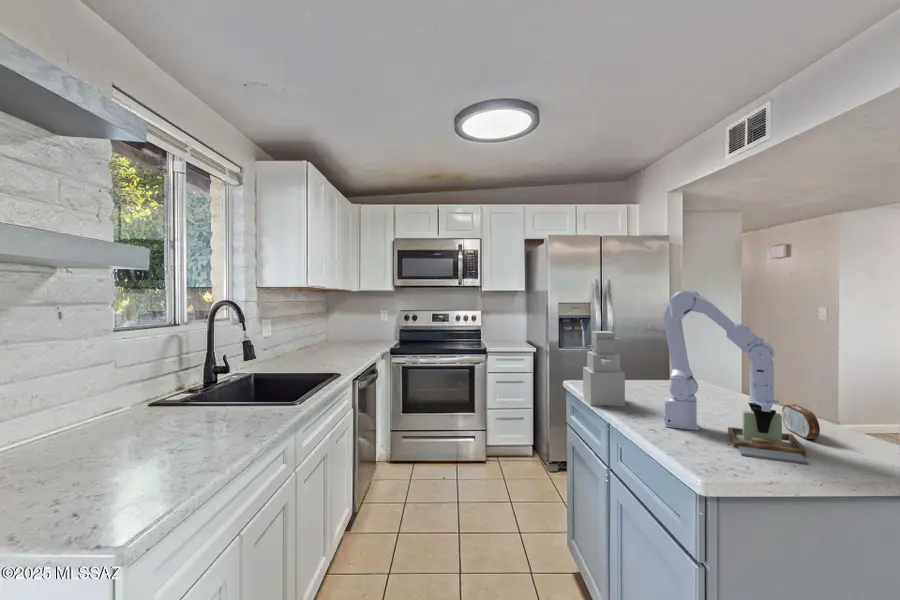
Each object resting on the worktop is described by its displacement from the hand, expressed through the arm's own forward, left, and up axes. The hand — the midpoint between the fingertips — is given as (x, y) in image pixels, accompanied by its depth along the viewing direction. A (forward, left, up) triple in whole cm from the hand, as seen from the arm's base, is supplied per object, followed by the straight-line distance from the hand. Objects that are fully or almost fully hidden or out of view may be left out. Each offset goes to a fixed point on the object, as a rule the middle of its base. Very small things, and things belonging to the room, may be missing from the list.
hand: (761, 430), depth 128 cm
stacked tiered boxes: (-48, +28, -3) cm, 56 cm away
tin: (+11, +10, -3) cm, 16 cm away
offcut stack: (0, -5, -3) cm, 6 cm away
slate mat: (0, -14, -3) cm, 14 cm away
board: (0, 0, -3) cm, 3 cm away
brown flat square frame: (0, -3, -3) cm, 4 cm away
